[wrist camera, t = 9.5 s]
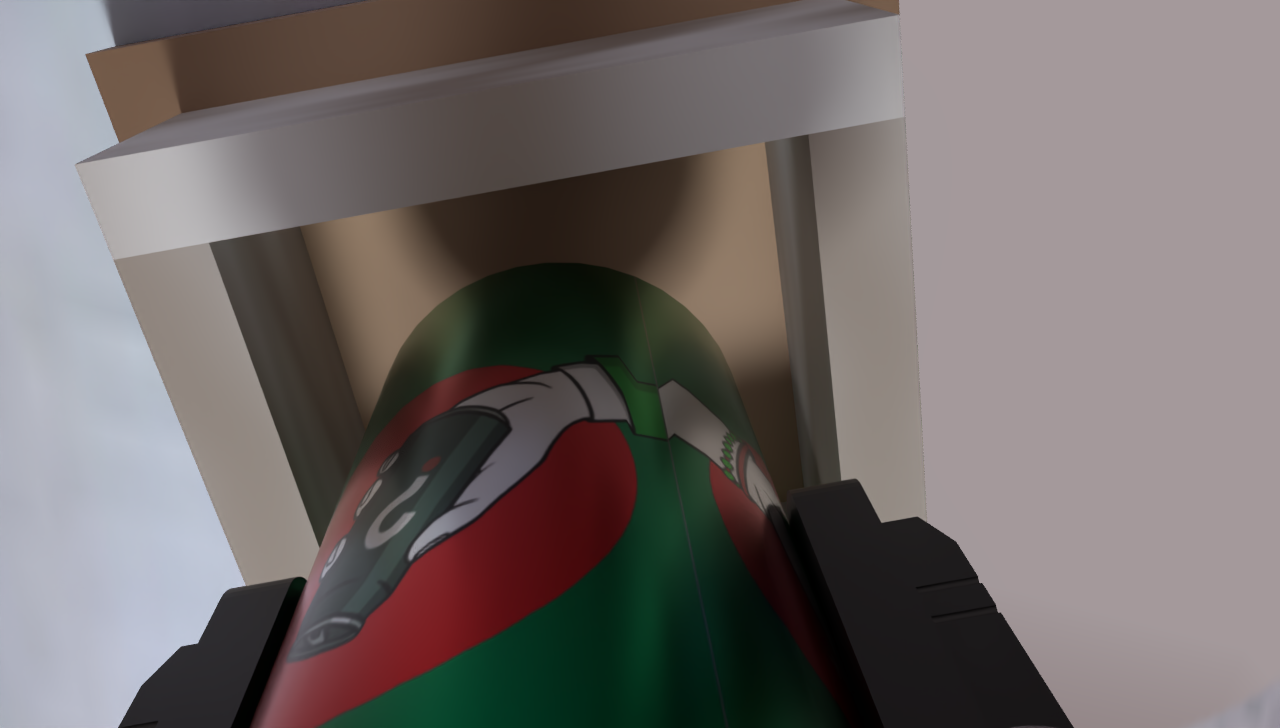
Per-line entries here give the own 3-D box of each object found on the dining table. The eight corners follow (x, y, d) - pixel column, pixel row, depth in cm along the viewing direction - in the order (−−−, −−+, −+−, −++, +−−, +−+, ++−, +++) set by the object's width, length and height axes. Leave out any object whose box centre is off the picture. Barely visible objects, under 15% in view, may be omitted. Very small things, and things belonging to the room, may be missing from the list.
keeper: (874, -93, 15) (985, -100, 11) (914, 545, 20) (1000, 703, 16) (114, 46, 15) (-53, 90, 11) (337, 647, 20) (278, 830, 16)
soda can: (341, 496, 15) (-287, 2109, 4) (458, 190, 13) (-84, 1551, 2) (648, 596, 16) (831, 2062, 5) (792, 327, 14) (1561, 1672, 3)
